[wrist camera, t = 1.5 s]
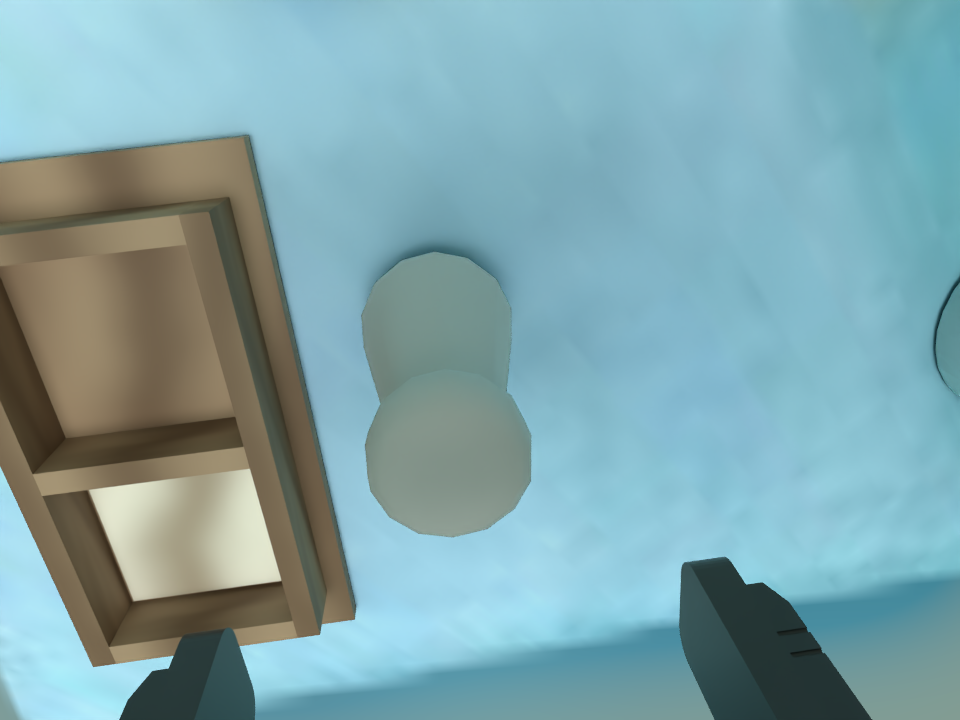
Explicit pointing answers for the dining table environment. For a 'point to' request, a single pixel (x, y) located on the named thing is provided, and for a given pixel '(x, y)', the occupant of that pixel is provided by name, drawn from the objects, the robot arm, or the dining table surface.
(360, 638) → the dining table surface
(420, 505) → the salt shaker
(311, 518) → the slot caddy
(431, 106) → the dining table surface
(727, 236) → the dining table surface
